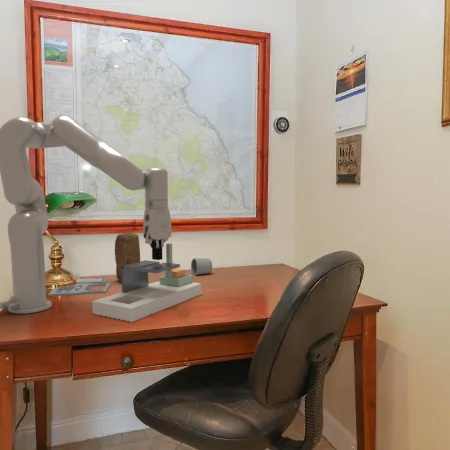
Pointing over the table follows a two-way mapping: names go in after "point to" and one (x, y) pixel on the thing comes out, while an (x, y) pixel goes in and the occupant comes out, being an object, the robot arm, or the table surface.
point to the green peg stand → (169, 279)
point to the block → (126, 251)
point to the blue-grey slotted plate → (81, 287)
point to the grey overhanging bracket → (141, 273)
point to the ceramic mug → (201, 266)
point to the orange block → (177, 273)
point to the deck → (144, 300)
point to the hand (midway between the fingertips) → (157, 259)
